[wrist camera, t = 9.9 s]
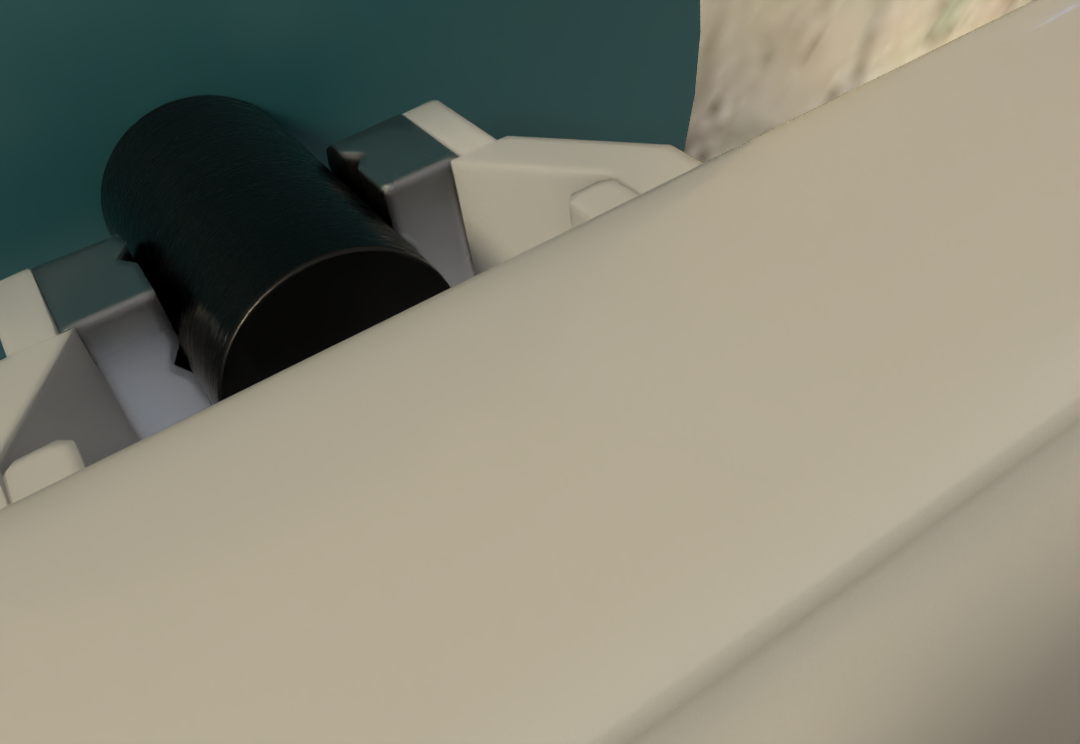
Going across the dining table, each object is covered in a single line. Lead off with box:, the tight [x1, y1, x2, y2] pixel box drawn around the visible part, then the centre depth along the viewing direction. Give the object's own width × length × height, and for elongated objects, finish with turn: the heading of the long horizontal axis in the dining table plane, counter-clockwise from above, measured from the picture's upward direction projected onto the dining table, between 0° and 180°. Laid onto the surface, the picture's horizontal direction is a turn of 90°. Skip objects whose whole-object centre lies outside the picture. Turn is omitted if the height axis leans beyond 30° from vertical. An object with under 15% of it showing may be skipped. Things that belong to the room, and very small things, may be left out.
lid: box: [0, 0, 700, 405], centre depth 12 cm, size 17×17×6 cm
